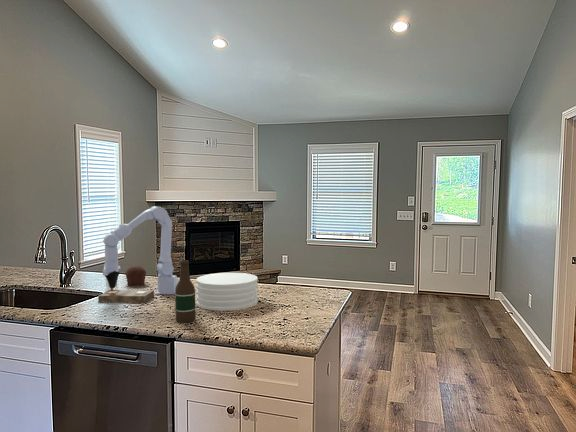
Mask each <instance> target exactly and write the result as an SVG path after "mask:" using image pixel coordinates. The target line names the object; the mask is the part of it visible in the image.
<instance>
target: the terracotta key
mask: <svg viewBox="0 0 576 432" xmlns="http://www.w3.org/2000/svg"><path fill="white" fill-rule="evenodd" d="M116 293H118V291H109V292H107V293H106V294H116Z"/></svg>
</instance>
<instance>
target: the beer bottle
mask: <svg viewBox="0 0 576 432" xmlns="http://www.w3.org/2000/svg"><path fill="white" fill-rule="evenodd" d="M189 264H190V261H189V260H188V259H187V260H186V259H184V260H183V259H182V260H180V261H179V265H180V268H179V270H180V271H179V280H178V284H177V286H176V289H175V294H174V299H175V301H174V302H175V307H174V308H175V311H174V312H175V313H174V314H175V321H176V322H177V323H178V324H187V323H192V322H194V321H195V320H196V289H195V286H194V283H193V282H192V281H191V278H190V277H191V276H190V265H189Z"/></svg>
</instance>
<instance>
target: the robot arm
mask: <svg viewBox="0 0 576 432" xmlns="http://www.w3.org/2000/svg"><path fill="white" fill-rule="evenodd" d="M149 220H155V221H157V222H158V224H160V226H161V233H160V251H159V252H160V253H159V254H160V256H159V258H158V263H157V264H156V270H157V272H158V273H157V291H156V292H154V295H175V289H176V286H177V284H178V282H179V280H178V276H177V275H174V274H173V272H174V269H175V268H174V265H173V260H172V257H171V255H172V254H171V252H172V237H173V236H172V235H173V234H172V232H173V221H172V218H171V217H170V216H169V213H168V211H167V210H166V209H165V208H163V207H162V206H156V205H154V206H151V207H150V208H148V209H145V210H144V211H143V212H141V213H140V214H139V215H137V216H136V217H135V218H134V219H132V220H131V221H130V222H128V223H122V224H119V225H118V227H117V228H116V229H114V230H111V231H110V233H108V234H105V237H103V241H102V242H103V244H104V263H105V268H104V267H103V269H102V276H104V275H105V277H106V278H107V280H108V283H109V287H110V288H115V286H116V281H117V282H118V280H117V278H118V279H119V275H120V274H121V273H120V271H121V270H122V269H121V265H119V249H118V244H119V242H121V241H122V240H124V239H126V237H128V236H129V235H130V234H132V232H133V229H134V228H137V227H138V226H139V225H141V224H142V223H144V222H145V221H149ZM117 270H118V272H116V271H117Z"/></svg>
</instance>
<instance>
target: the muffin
mask: <svg viewBox="0 0 576 432" xmlns="http://www.w3.org/2000/svg"><path fill="white" fill-rule="evenodd" d="M146 274H147V271H146V269H145V268H144V267H142V266H138V265H134V266H130V267H129V268H128V269H126V271H125V272H124V276H125V278H126V282H127V286H128V287H139V286H143V285H145V281H146Z"/></svg>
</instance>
